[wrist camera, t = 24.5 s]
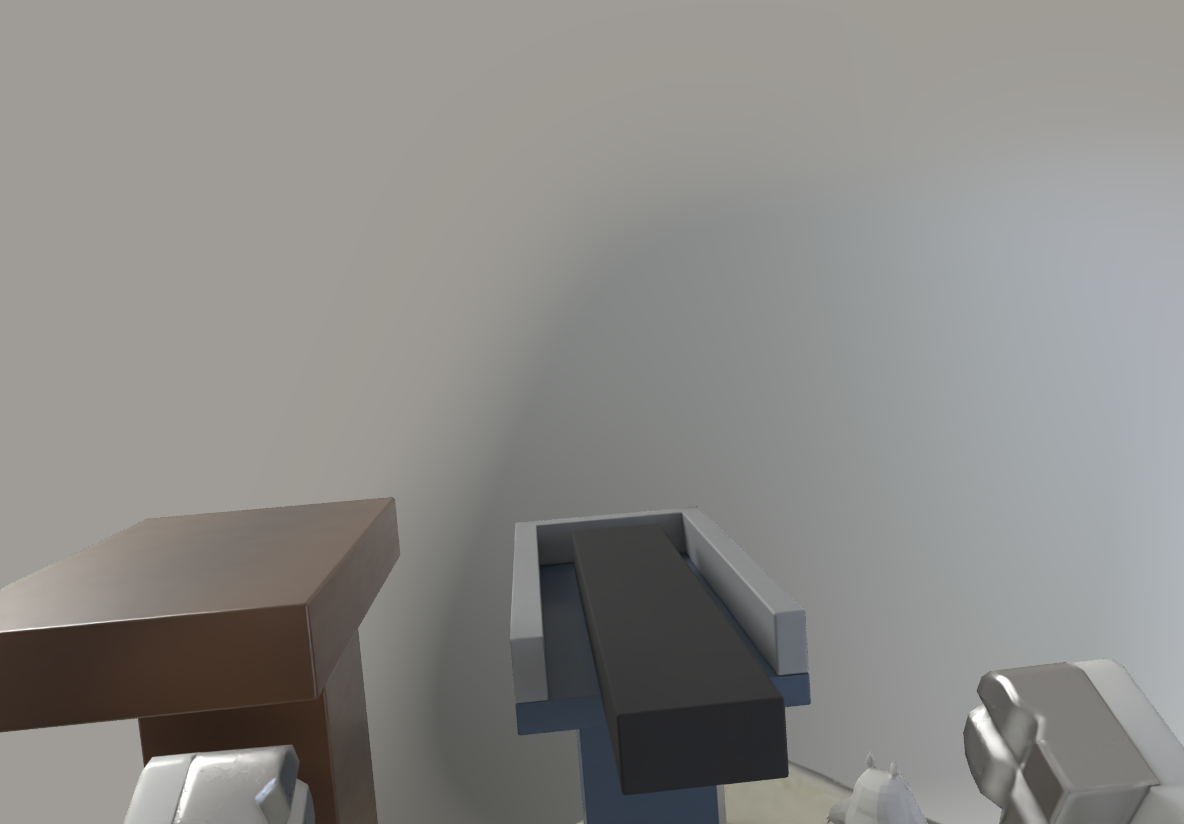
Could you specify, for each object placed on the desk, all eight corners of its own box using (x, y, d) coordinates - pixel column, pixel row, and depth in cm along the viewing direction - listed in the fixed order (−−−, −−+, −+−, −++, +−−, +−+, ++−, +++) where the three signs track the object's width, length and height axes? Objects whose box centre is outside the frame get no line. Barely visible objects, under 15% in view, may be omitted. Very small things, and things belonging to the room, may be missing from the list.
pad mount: (552, 1312, 29) (492, 641, 27) (542, 950, 45) (505, 523, 44) (858, 1266, 29) (821, 608, 27) (736, 926, 46) (708, 505, 44)
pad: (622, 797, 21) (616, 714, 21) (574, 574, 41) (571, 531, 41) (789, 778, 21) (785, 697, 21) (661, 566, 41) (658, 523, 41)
